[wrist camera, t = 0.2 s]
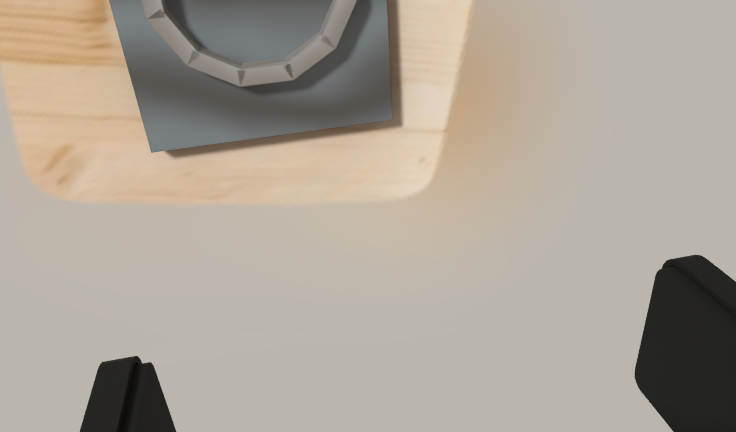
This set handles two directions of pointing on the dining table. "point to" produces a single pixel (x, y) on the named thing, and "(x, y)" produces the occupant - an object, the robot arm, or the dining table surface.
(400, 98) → the dining table surface
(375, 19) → the ring board
